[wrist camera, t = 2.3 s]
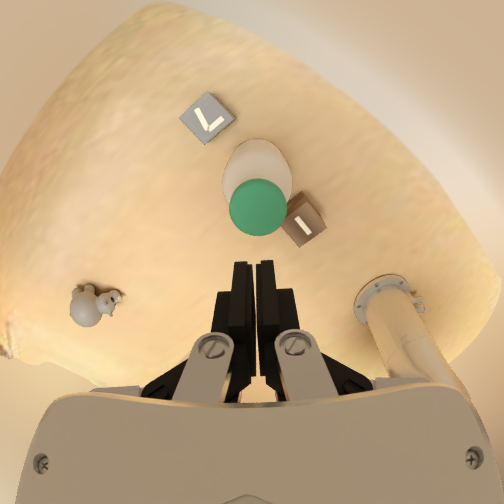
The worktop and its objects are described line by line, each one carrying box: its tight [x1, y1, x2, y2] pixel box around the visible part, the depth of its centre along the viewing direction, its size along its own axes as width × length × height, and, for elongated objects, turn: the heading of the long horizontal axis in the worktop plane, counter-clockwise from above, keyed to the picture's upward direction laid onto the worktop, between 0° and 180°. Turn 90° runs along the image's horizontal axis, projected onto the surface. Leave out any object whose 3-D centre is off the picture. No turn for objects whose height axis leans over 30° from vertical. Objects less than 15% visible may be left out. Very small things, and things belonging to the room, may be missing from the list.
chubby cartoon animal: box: [70, 284, 122, 327], centre depth 48 cm, size 7×12×8 cm, turn 95°
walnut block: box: [281, 191, 327, 248], centre depth 40 cm, size 5×5×5 cm
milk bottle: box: [222, 139, 293, 236], centre depth 30 cm, size 8×8×20 cm
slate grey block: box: [179, 92, 236, 145], centre depth 33 cm, size 5×5×5 cm
